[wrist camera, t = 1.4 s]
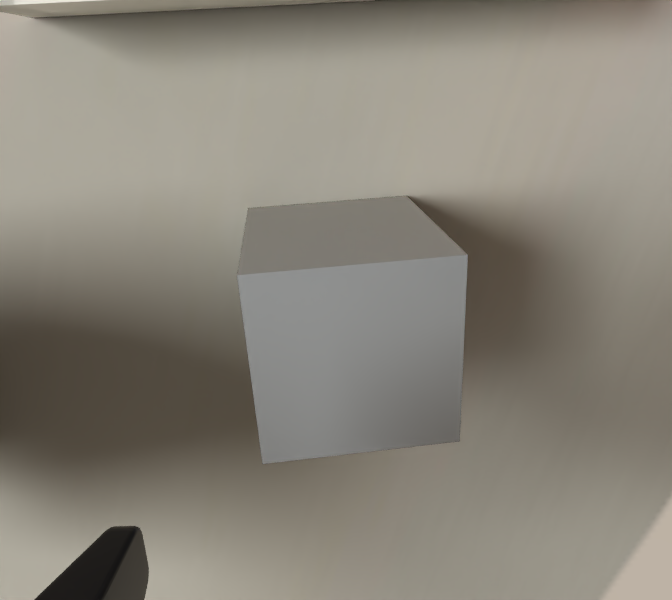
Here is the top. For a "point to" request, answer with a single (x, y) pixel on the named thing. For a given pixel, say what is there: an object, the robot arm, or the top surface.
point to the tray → (131, 6)
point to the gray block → (352, 327)
